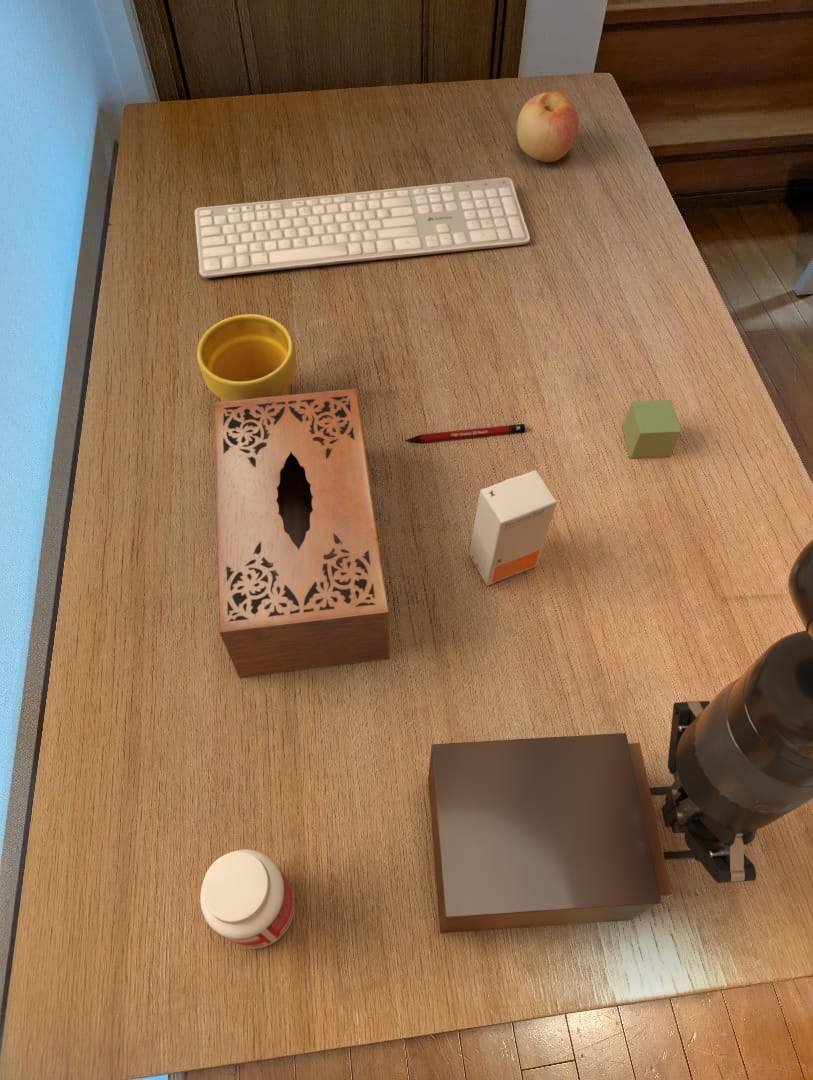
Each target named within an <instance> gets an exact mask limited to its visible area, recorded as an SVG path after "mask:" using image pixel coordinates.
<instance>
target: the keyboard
mask: <svg viewBox="0 0 813 1080" xmlns="http://www.w3.org/2000/svg"><path fill="white" fill-rule="evenodd" d="M194 221H195V223H194V224H195V234H196V243H197V244H196V245H197V246H196V247H197V255H198V257H197V258H198V272H199V273H198V274H199V276H200V277H201V278H203V279H210V278H219V277H228V276H236V275H237V276H238V275H245V274H254V273H264V272H273V271H282V270H293V269H301V268H312V267H320V266H330V265H331V266H332V265H339V264H350V263H358V262H368V261H369V262H370V261H377V260H387V259H396V258H407V257H408V258H409V257H418V256H426V255H435V254H436V255H437V254H446V253H457V252H464V251H465V252H467V251H474V250H475V251H476V250H485V249H486V250H487V249H493V248H494V249H496V248H503V247H513V246H523V245H524V246H525V245H527V244H529V243H530V240H531V235H530V233H529V229H528V226H527V223H526V221H525V218H524V214H523V211H522V208H521V205H520V202H519V199H518V195H517V192H516V188H515V184H514V181H513V180H512V178H510V177H498V178H489V179H479V180H469V181H457V182H449V183H439V184H438V183H437V184H428V185H416V186H407V187H399V188H397V187H396V188H388V189H387V188H386V189H377V190H369V191H359V192H349V193H339V194H337V193H336V194H329V195H328V194H327V195H316V196H308V197H306V196H305V197H296V198H286V199H276V200H275V199H274V200H268V201H267V200H266V201H265V200H264V201H255V202H244V203H235V204H234V203H233V204H224V205H214V206H201V207H200V206H199V207H197V208H196V209H194Z"/></svg>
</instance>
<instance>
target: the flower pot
mask: <svg viewBox="0 0 813 1080" xmlns="http://www.w3.org/2000/svg"><path fill="white" fill-rule="evenodd" d="M196 358H197V362H198V366H199V370H200V372H201V375H202V378H203V380H204V383H205V384H206V386H207V388H208V390H209V391H210V392H211V393H213V394H214V395H215V396H217V397H218V398H219V399H220V400H221V402H223V401H233V400H243V399H254V398H264V397H274V396H284V395H290V390H291V383H292V381H293V380H294V376H295V375H296V370H297V357H296V349H295V344H294V341H293V337H292V335H291V334H290V332H289V330H288V329H287V327H285V325H283V324H282V323H281V322H280V321H277V320H276V319H273V318H272V317H269V316H266V315H261V314H255V313H254V314H253V313H245V314H244V313H243V314H238V315H234V316H229V317H227V318H224V319H222V320H220V321H218V322H216V323H215V324H214V325H212V326H211V327H210V328H208V329H207V330H206V332H204V333H203V334H202V336H201V337H200V339H199V342H198V345H197V350H196Z"/></svg>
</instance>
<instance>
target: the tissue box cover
mask: <svg viewBox="0 0 813 1080" xmlns="http://www.w3.org/2000/svg"><path fill="white" fill-rule="evenodd" d="M214 426H215V427H214V431H215V432H214V434H215V436H214V438H215V481H216V485H215V486H216V530H217V536H216V537H217V579H218V580H217V582H218V584H217V585H218V625H219V627H218V629H219V630H218V631H219V635H220V637H221V640H222V641H223V644H224V646H225V649H226V651H227V653H228V655H229V658H230V660H231V663H232V665H233V667H234V669H235V671H236V674H237V676H238V678H246V677H254V676H262V675H263V676H264V675H272V674H279V673H286V672H293V671H302V670H309V669H311V670H312V669H319V668H326V667H335V666H344V665H350V664H359V663H367V662H374V661H383V660H390V659H391V658H390V619H389V618H390V612H389V606H388V598H387V590H386V585H385V578H384V577H385V576H384V570H383V563H382V556H381V548H380V541H379V536H378V535H379V533H378V527H377V520H376V514H375V506H374V500H373V492H372V484H371V479H370V477H371V476H370V471H369V463H368V457H367V456H368V455H367V450H366V443H365V436H364V435H365V434H364V428H363V421H362V415H361V407H360V399H359V393H358V388H356V387H355V388H346V389H345V388H344V389H337V390H335V389H334V390H326V391H325V390H324V391H316V392H307V393H296V394H289V395H284V396H274V397H264V398H254V399H243V400H233V401H215V402H214Z"/></svg>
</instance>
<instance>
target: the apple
mask: <svg viewBox="0 0 813 1080" xmlns="http://www.w3.org/2000/svg"><path fill="white" fill-rule="evenodd" d="M579 120H580V118H579V114H578V112H577V110H576V108H575V105H574V104H573V103H572V101H571V99H570V98H569V97H568V96H567V95H565V94H564V93H562V92H559V91H548V92H542V93H538V94H536V95H534V96H532V97H531V98H530V99H528V100H527V101H526V102H525V103H524V105H523V107H522V108H521V109H520V112H519V115H518V117H517V123H516V139H517V142H518V145H519V147H520V149H521V150H522V151H523V152H524V153H525V154H526V155H527V156H529V157H530V158H532V159H534V160H536V161H539V162H542V163H553V162H556V161H558V160H560V159H562V158H563V157H564V156H565V155H567V153H568V152H569V151H570V150H571V148H572V147H573V145H574V144H575V141H576V138H577V136H578V133H579V132H578V131H579V127H580V121H579Z"/></svg>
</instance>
